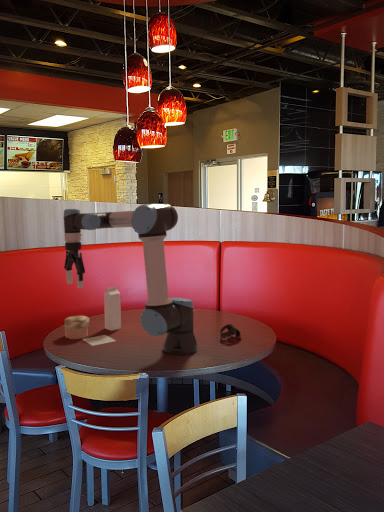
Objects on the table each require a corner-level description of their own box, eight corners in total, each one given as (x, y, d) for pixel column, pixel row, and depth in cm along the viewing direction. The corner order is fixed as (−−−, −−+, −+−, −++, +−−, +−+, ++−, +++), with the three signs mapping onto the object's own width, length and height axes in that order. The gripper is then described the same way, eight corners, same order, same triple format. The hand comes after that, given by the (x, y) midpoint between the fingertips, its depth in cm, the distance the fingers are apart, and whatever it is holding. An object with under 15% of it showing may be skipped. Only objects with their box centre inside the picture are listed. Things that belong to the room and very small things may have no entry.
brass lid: (70, 330, 220) (70, 322, 220) (61, 324, 230) (60, 317, 229) (93, 326, 227) (93, 319, 227) (83, 321, 236) (83, 314, 236)
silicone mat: (116, 341, 221) (116, 340, 221) (92, 346, 214) (92, 345, 214) (105, 335, 230) (105, 334, 230) (82, 340, 223) (82, 339, 223)
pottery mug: (243, 343, 220) (235, 329, 217) (225, 350, 222) (217, 337, 219) (242, 329, 231) (234, 316, 228) (224, 337, 233) (217, 324, 230)
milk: (121, 329, 241) (120, 287, 238) (111, 331, 237) (110, 288, 234) (114, 326, 246) (113, 285, 243) (104, 329, 242) (103, 286, 239)
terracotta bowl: (90, 337, 228) (90, 326, 227) (70, 341, 222) (69, 329, 221) (82, 332, 236) (82, 321, 236) (62, 335, 230) (61, 324, 230)
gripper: (91, 242, 215) (93, 288, 218) (70, 239, 235) (72, 281, 238) (75, 244, 211) (77, 290, 213) (56, 240, 231) (58, 282, 234)
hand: (75, 285), depth 226 cm, fingers open, 13 cm apart
